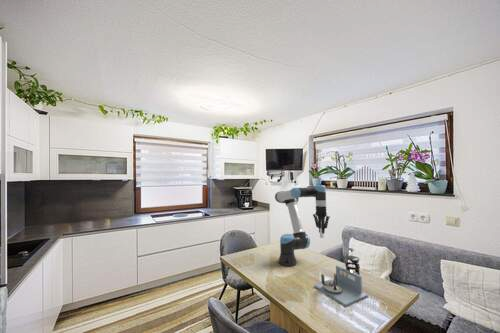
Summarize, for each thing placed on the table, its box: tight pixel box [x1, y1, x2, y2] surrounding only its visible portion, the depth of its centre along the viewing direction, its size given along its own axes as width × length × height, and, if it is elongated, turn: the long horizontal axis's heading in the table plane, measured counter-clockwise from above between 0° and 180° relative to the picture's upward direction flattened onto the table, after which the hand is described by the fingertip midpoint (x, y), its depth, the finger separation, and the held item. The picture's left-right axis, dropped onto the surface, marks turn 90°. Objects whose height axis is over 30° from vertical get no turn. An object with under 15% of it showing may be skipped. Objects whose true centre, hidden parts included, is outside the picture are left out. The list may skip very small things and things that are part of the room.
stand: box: [313, 264, 369, 307], centre depth 128 cm, size 24×20×11 cm
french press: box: [344, 248, 361, 276], centre depth 139 cm, size 12×9×23 cm
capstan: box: [321, 273, 343, 294], centre depth 129 cm, size 12×12×8 cm
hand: (321, 237), depth 149 cm, fingers closed
